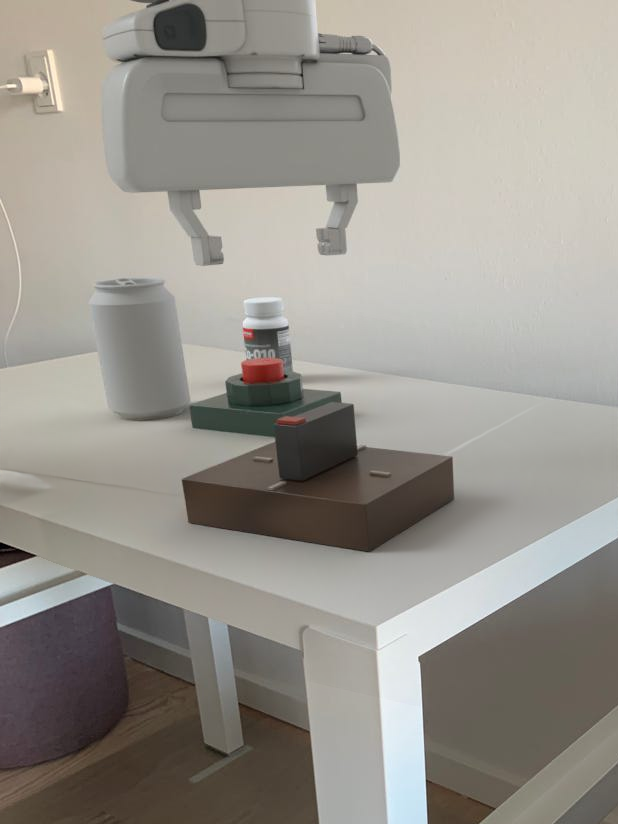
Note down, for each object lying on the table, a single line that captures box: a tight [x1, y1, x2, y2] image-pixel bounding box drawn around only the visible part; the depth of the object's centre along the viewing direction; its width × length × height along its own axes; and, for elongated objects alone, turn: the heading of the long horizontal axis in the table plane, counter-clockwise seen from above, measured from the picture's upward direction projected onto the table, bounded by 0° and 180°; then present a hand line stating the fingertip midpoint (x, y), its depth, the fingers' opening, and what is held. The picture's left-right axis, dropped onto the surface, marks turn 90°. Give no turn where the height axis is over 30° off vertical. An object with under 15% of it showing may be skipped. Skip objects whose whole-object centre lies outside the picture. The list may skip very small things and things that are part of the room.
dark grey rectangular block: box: [273, 402, 358, 481], centre depth 65 cm, size 6×2×4 cm, turn 154°
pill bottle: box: [242, 296, 294, 372], centre depth 105 cm, size 5×5×8 cm
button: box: [240, 358, 285, 383], centre depth 88 cm, size 4×4×2 cm
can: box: [87, 277, 191, 421], centre depth 92 cm, size 8×8×12 cm
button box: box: [188, 370, 343, 438], centre depth 89 cm, size 10×9×4 cm
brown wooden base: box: [181, 441, 455, 553], centre depth 67 cm, size 14×11×3 cm
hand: (273, 259), depth 70 cm, fingers open, 8 cm apart
